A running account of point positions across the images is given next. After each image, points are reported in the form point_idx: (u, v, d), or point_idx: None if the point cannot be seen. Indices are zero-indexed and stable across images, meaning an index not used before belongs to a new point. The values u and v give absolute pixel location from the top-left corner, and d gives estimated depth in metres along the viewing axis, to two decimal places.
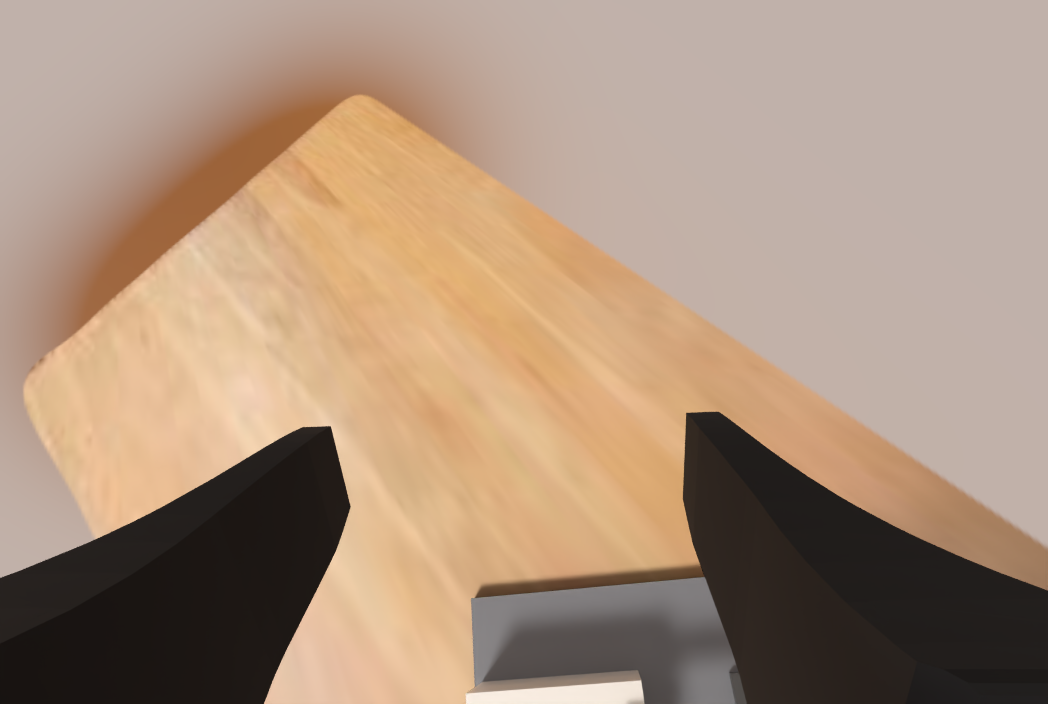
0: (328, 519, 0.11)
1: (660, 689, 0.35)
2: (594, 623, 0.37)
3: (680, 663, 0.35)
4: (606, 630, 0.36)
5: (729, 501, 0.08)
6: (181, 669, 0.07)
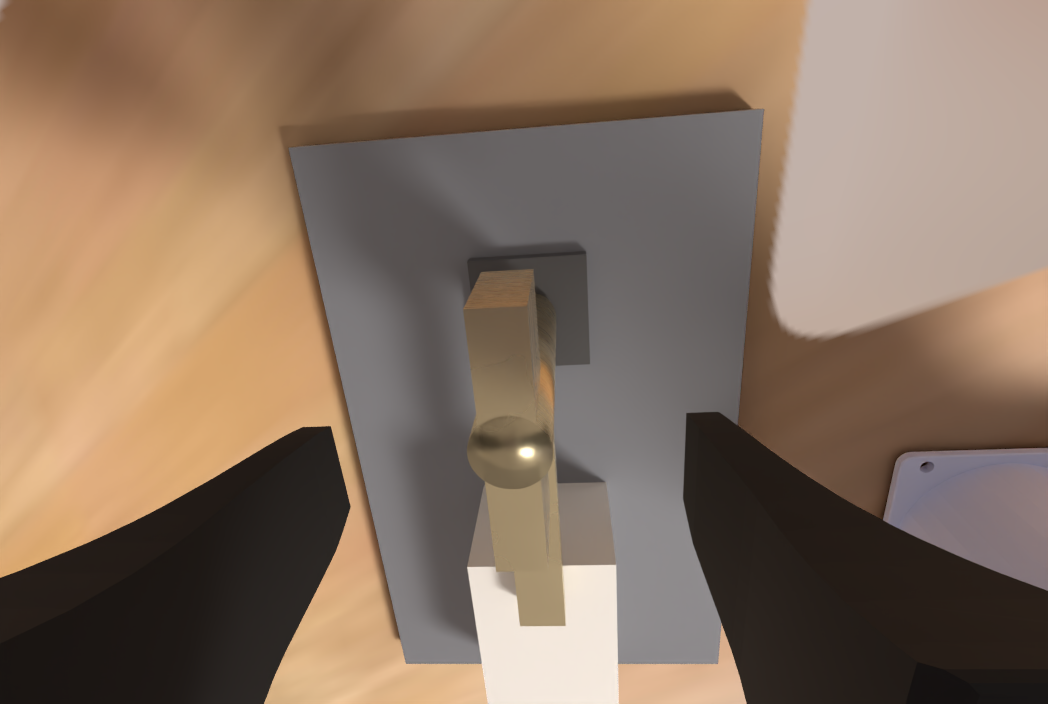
0: (328, 519, 0.11)
1: None
2: (425, 531, 0.24)
3: None
4: (433, 518, 0.24)
5: (729, 501, 0.08)
6: (181, 669, 0.07)
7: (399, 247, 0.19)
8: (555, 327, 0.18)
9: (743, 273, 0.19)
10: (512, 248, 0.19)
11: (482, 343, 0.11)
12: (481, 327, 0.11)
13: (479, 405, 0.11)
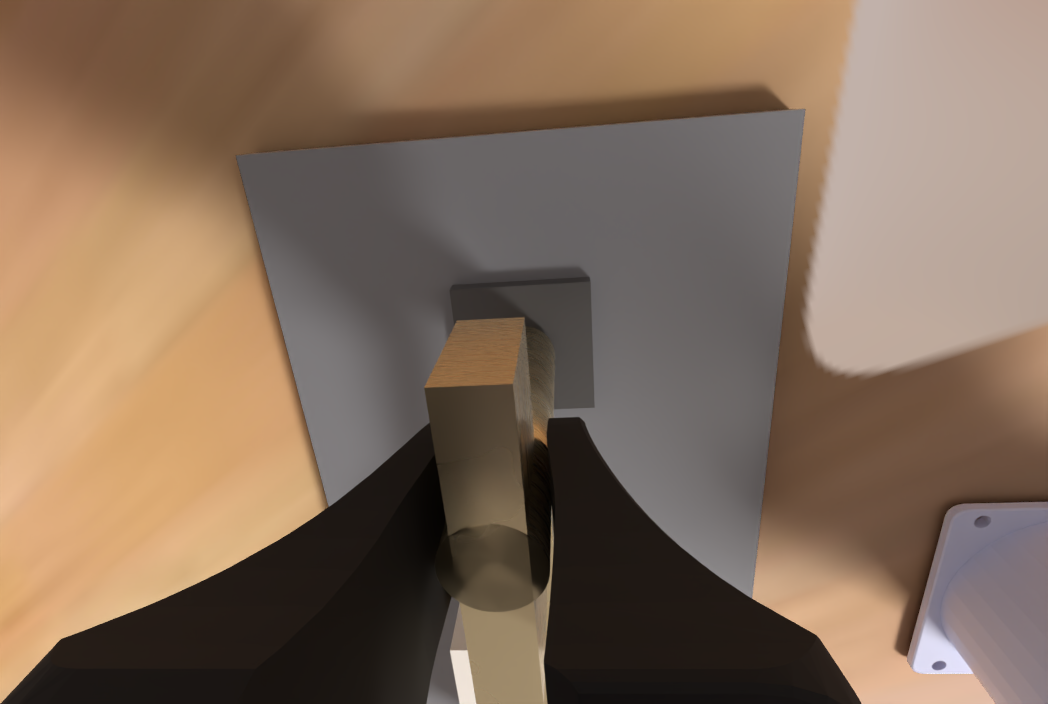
0: None
1: None
2: None
3: None
4: None
5: (554, 505, 0.09)
6: (383, 669, 0.07)
7: (370, 272, 0.16)
8: (553, 370, 0.15)
9: (776, 303, 0.16)
10: (503, 273, 0.16)
11: (452, 432, 0.08)
12: (450, 411, 0.08)
13: (450, 510, 0.08)
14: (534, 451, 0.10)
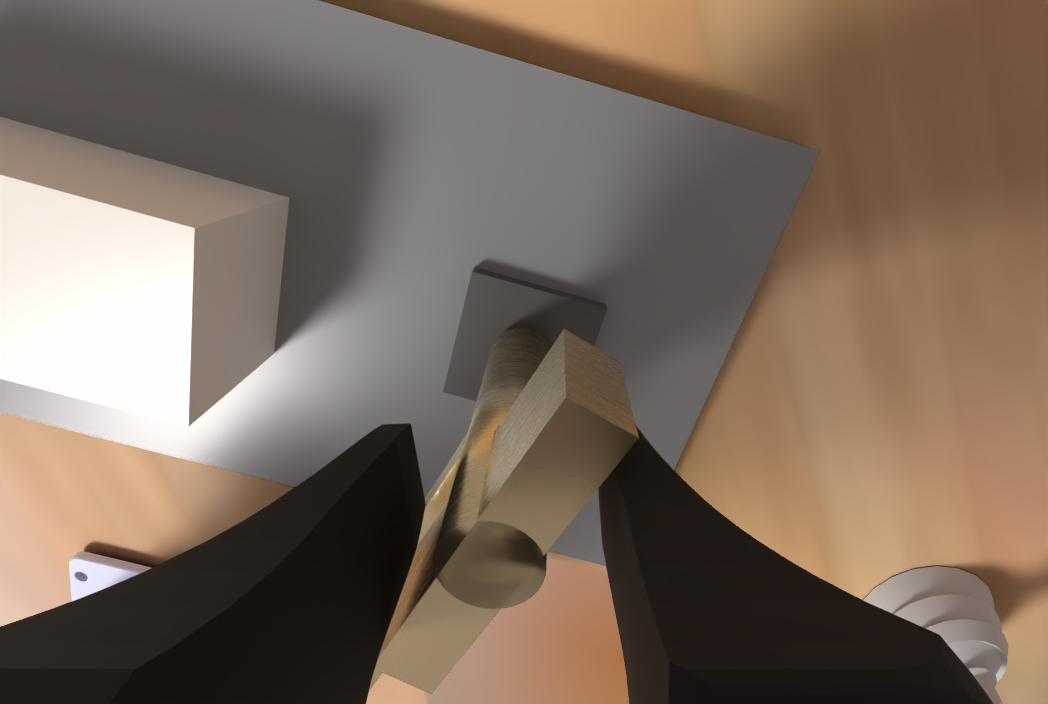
0: (410, 517, 0.11)
1: (327, 247, 0.16)
2: (210, 65, 0.15)
3: (383, 217, 0.16)
4: (236, 92, 0.15)
5: (614, 504, 0.09)
6: (307, 669, 0.07)
7: (650, 230, 0.16)
8: None
9: None
10: None
11: (556, 444, 0.08)
12: (569, 427, 0.08)
13: (496, 502, 0.08)
14: None
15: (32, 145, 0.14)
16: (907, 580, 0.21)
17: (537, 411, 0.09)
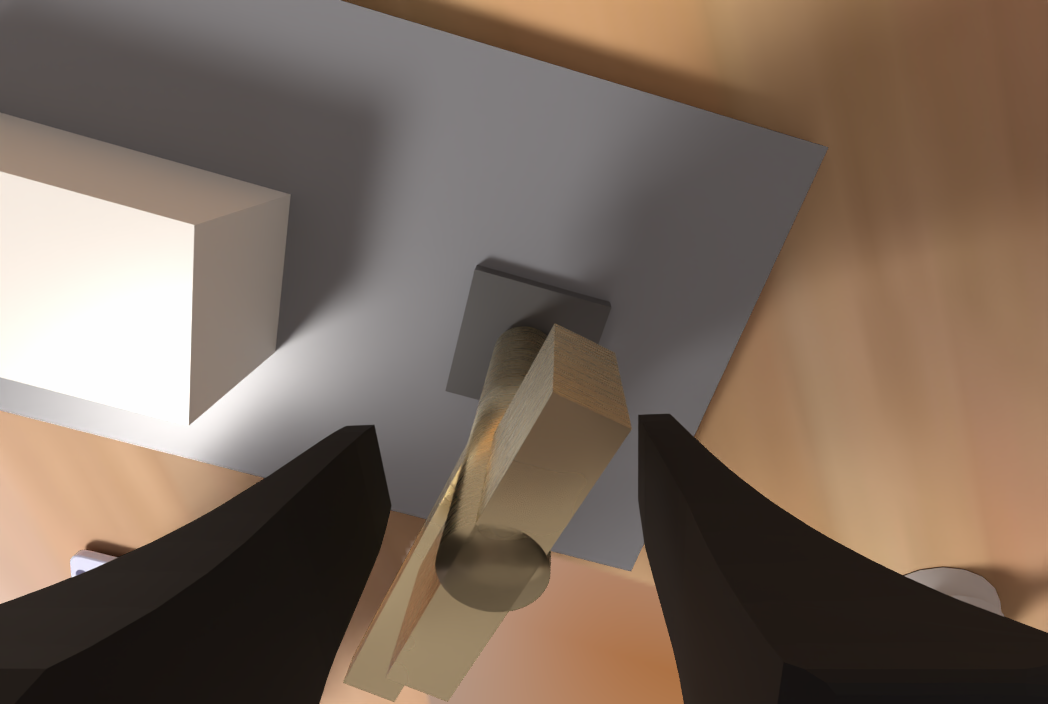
0: (373, 518, 0.11)
1: (328, 245, 0.16)
2: (211, 60, 0.14)
3: (385, 214, 0.16)
4: (237, 88, 0.15)
5: (668, 502, 0.09)
6: (249, 669, 0.07)
7: (656, 228, 0.15)
8: None
9: None
10: None
11: (548, 440, 0.08)
12: (560, 423, 0.08)
13: (493, 504, 0.08)
14: None
15: (31, 141, 0.14)
16: None
17: (529, 409, 0.08)
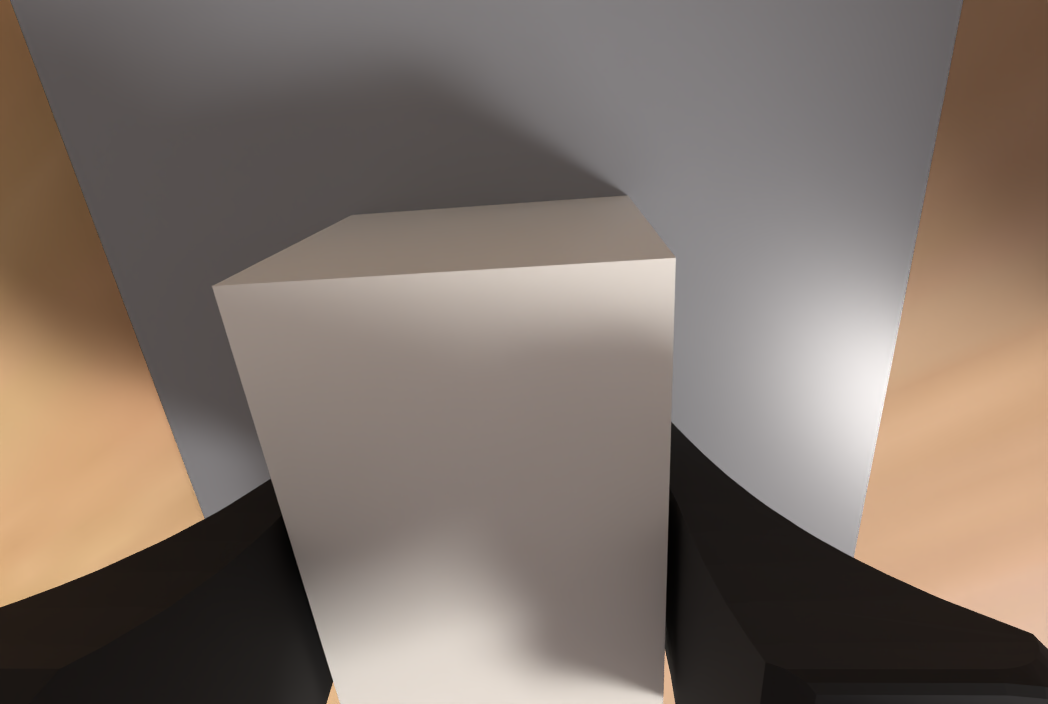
0: None
1: (401, 138, 0.10)
2: None
3: (309, 50, 0.09)
4: None
5: None
6: (258, 669, 0.07)
7: None
8: None
9: None
10: None
11: None
12: None
13: None
14: None
15: None
16: None
17: None
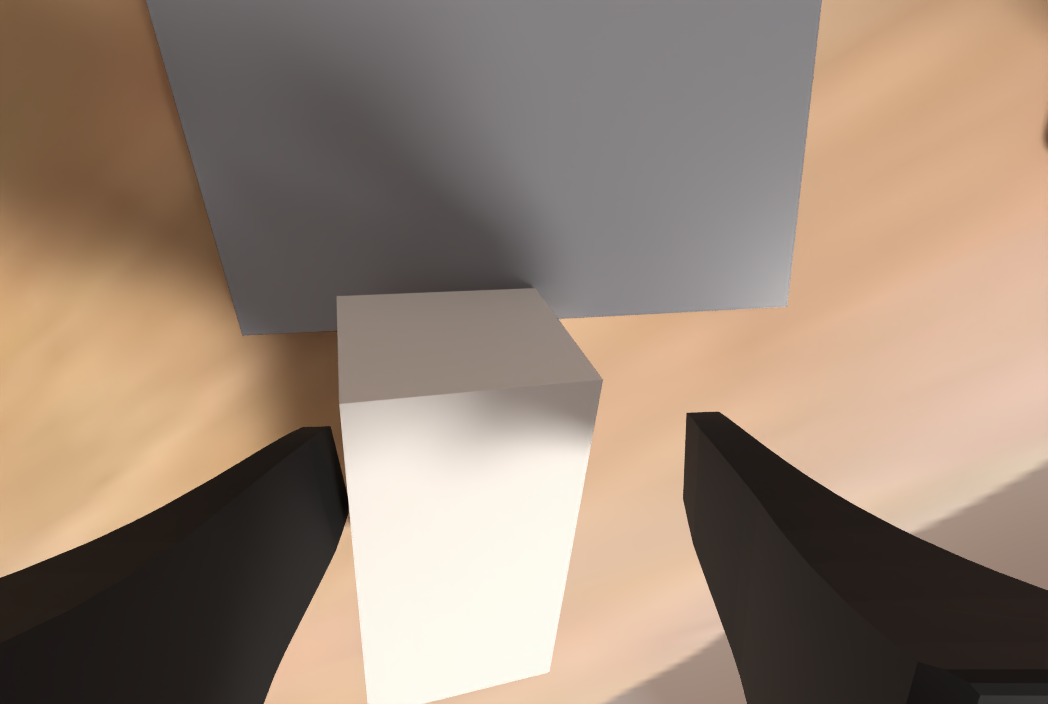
0: (328, 519, 0.11)
1: None
2: None
3: None
4: None
5: (729, 501, 0.08)
6: (181, 669, 0.07)
7: None
8: None
9: None
10: None
11: None
12: None
13: None
14: None
15: None
16: None
17: None
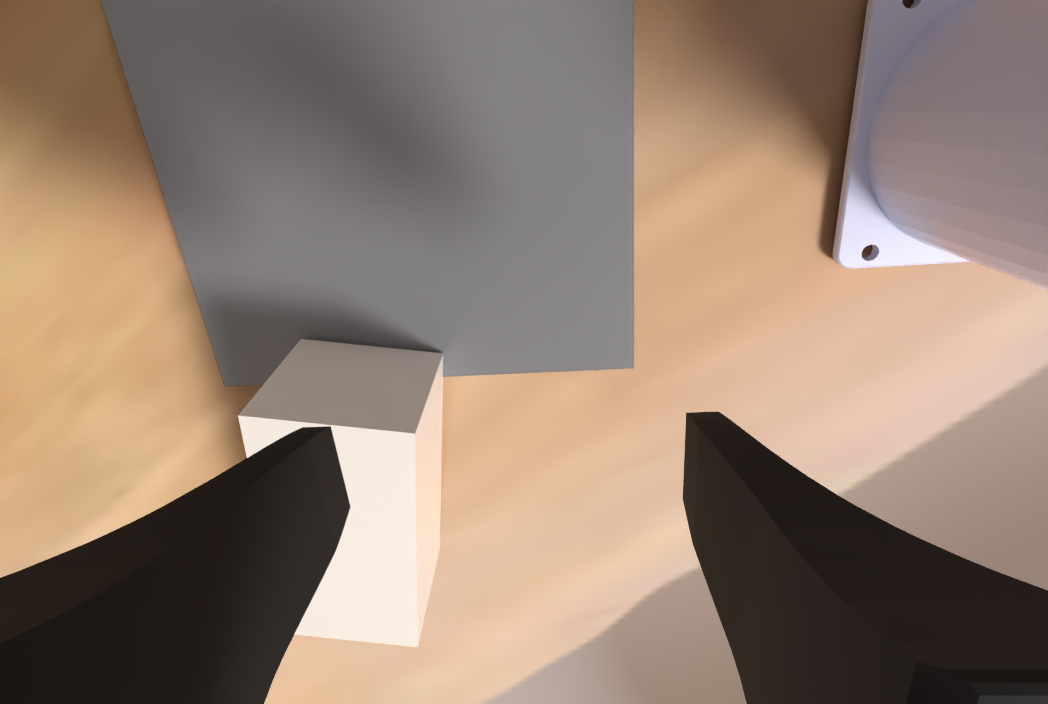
0: (328, 519, 0.11)
1: (312, 2, 0.16)
2: (216, 149, 0.17)
3: None
4: (224, 123, 0.17)
5: (729, 501, 0.08)
6: (181, 669, 0.07)
7: None
8: None
9: None
10: None
11: None
12: None
13: None
14: None
15: None
16: None
17: None
